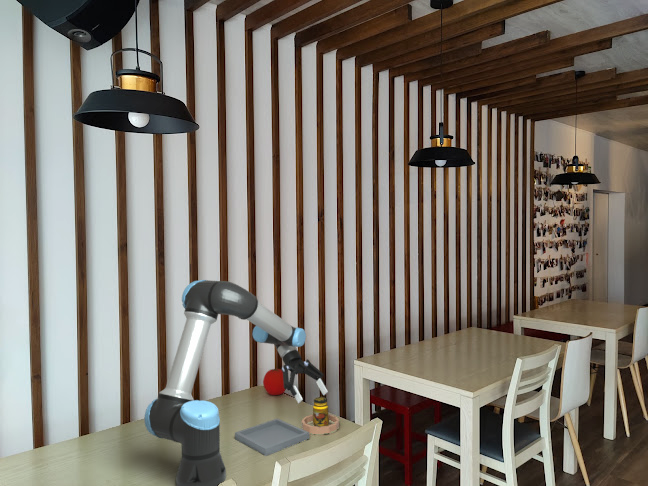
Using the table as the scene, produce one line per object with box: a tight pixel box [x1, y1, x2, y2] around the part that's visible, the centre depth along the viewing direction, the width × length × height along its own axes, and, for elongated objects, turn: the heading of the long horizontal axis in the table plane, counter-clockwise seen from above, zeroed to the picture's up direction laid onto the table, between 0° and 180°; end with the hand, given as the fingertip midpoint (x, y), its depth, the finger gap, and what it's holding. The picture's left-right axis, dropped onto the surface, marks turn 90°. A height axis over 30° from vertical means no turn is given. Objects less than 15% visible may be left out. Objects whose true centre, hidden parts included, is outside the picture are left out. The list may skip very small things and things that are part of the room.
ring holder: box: [301, 413, 340, 434], centre depth 191 cm, size 14×14×3 cm
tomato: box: [262, 368, 287, 396], centre depth 233 cm, size 12×12×13 cm
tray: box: [234, 418, 310, 457], centre depth 181 cm, size 20×20×2 cm
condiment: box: [312, 396, 330, 427], centre depth 191 cm, size 7×8×12 cm
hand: (313, 397), depth 195 cm, fingers open, 13 cm apart
